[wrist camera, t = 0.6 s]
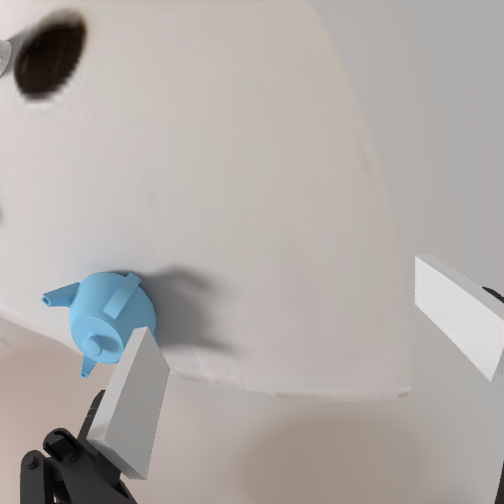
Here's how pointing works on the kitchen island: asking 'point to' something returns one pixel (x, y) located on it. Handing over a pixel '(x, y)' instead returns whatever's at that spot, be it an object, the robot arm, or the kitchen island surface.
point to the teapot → (104, 315)
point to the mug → (4, 54)
